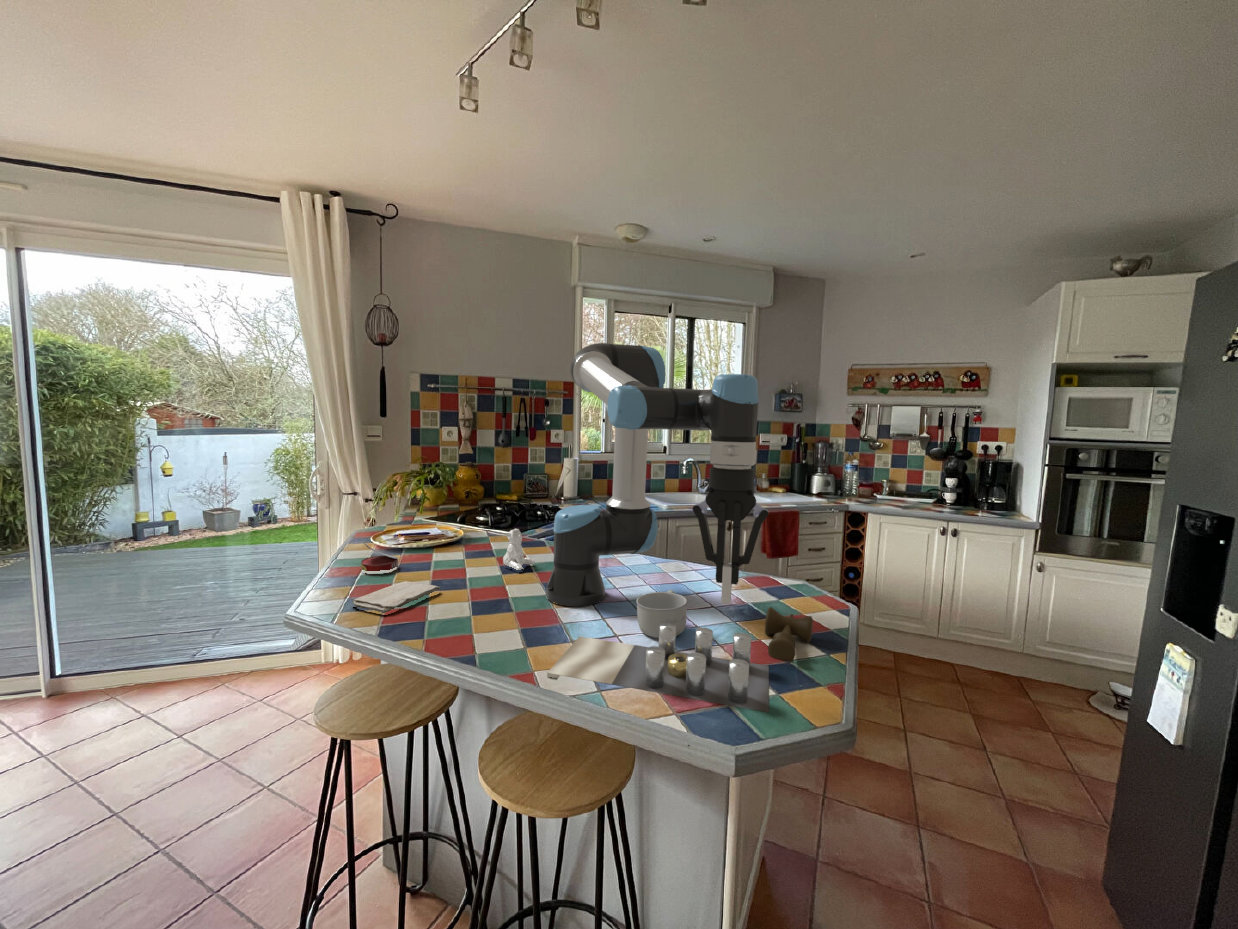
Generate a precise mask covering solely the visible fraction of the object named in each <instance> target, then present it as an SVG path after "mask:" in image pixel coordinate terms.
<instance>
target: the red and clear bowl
mask: <svg viewBox="0 0 1238 929" xmlns="http://www.w3.org/2000/svg"><path fill="white" fill-rule="evenodd" d="M363 545H364V546H365V547H366V548H367V549H370V550H372V551H374V552H376V553H378V554H381V555H376V556H371V557H366V558H364V559H362V560H361V561H360V565H361V566H360V568H361V570H365V571H380V570H390V569H393V568H395V567H397V566H398V567H399V559H398V557H397V556H394V555H390V554H386V553H383V552H379V551H377V550H375V549H374V548H371V546H369V545H368V544H367V543H365V542H363ZM361 570H360V571H361Z"/></svg>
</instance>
